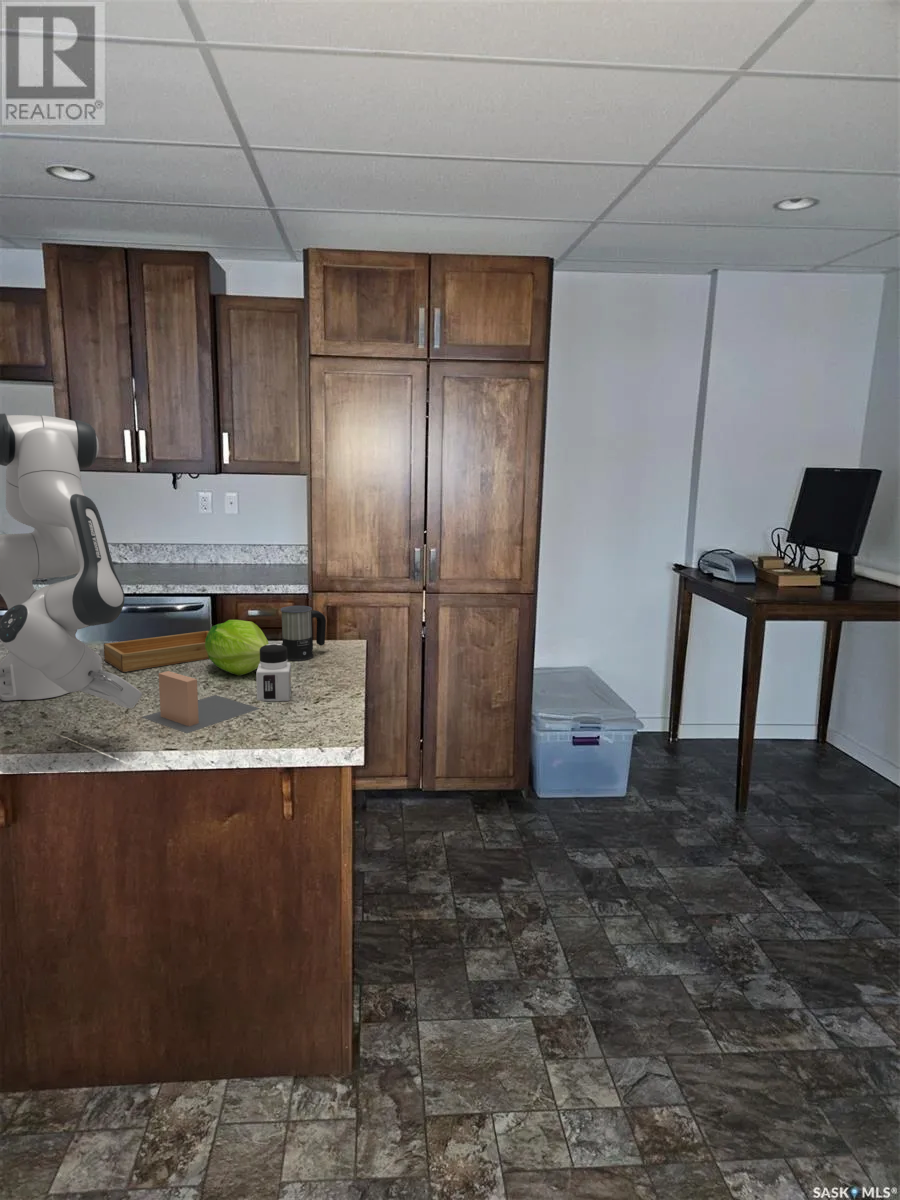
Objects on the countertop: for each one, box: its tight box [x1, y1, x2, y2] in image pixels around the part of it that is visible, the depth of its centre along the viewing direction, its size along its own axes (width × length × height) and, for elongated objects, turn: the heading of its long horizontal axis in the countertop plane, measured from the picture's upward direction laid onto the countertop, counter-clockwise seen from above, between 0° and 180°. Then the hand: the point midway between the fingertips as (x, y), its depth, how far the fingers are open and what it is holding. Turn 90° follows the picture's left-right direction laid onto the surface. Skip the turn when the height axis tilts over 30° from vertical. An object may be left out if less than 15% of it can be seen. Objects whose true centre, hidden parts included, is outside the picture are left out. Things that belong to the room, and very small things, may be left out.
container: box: [255, 643, 292, 703], centre depth 179 cm, size 8×8×13 cm
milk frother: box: [280, 605, 327, 662], centre depth 219 cm, size 14×16×15 cm
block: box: [158, 670, 199, 726], centre depth 161 cm, size 10×3×10 cm, turn 56°
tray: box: [103, 630, 210, 673], centre depth 212 cm, size 31×15×6 cm, turn 132°
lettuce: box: [205, 619, 269, 676], centre depth 200 cm, size 15×23×16 cm
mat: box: [141, 694, 261, 734], centre depth 167 cm, size 16×20×1 cm
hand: (126, 703), depth 150 cm, fingers closed
